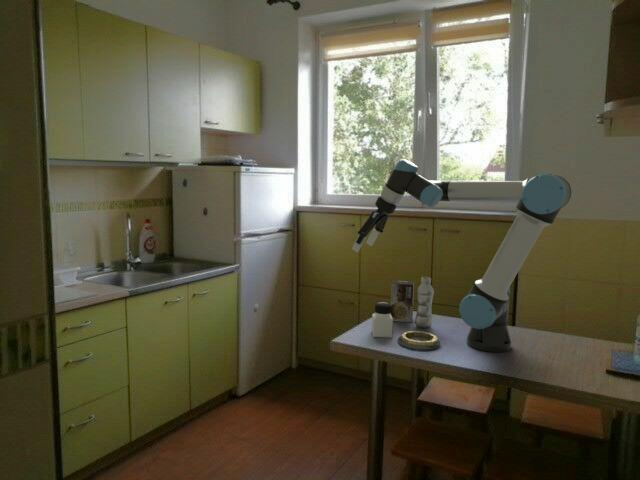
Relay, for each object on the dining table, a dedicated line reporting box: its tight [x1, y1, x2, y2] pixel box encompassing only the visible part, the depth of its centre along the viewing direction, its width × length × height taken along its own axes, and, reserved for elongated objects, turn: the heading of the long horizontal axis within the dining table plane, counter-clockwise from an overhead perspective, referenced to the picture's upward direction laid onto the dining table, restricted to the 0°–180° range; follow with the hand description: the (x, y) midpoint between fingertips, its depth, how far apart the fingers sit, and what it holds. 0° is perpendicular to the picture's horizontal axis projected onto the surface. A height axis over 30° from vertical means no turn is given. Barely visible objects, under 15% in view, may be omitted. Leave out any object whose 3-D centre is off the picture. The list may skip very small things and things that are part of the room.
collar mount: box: [397, 330, 441, 352], centre depth 177 cm, size 15×15×2 cm
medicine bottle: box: [371, 301, 394, 338], centre depth 185 cm, size 7×7×12 cm
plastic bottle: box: [414, 276, 435, 329], centre depth 195 cm, size 6×7×20 cm
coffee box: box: [390, 279, 415, 323], centre depth 205 cm, size 9×6×16 cm
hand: (362, 247), depth 187 cm, fingers open, 13 cm apart
